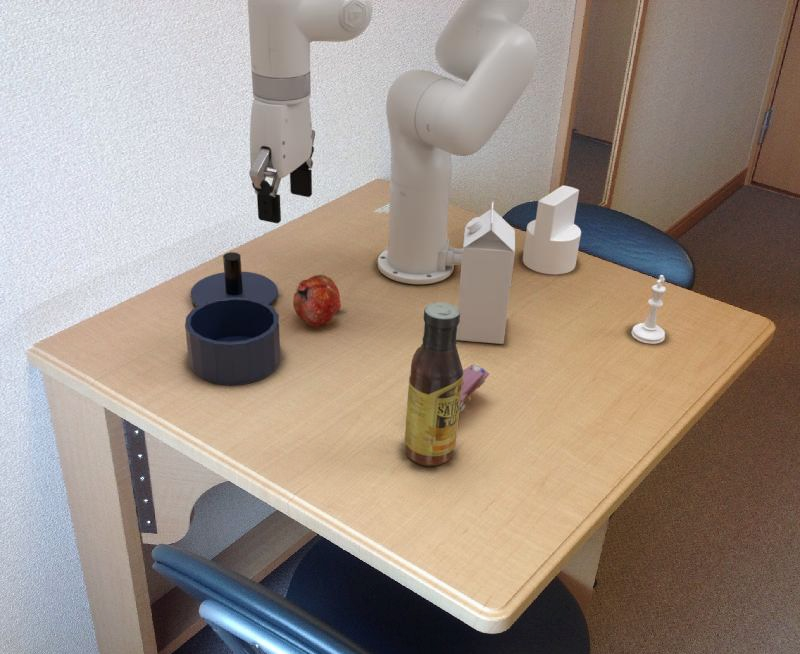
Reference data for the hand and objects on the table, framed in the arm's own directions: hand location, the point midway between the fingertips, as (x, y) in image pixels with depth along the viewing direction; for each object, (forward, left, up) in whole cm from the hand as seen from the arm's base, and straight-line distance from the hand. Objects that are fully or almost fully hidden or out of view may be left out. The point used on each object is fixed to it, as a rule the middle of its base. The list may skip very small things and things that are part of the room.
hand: (285, 207), depth 129 cm
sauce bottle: (-25, +30, -17) cm, 42 cm away
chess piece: (-54, -5, -17) cm, 57 cm away
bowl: (+4, +15, -17) cm, 23 cm away
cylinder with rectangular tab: (-39, -25, -17) cm, 50 cm away
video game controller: (-27, +19, -17) cm, 37 cm away
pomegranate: (-5, +1, -17) cm, 18 cm away
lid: (+9, -2, -16) cm, 19 cm away
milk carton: (-29, -1, -17) cm, 34 cm away
